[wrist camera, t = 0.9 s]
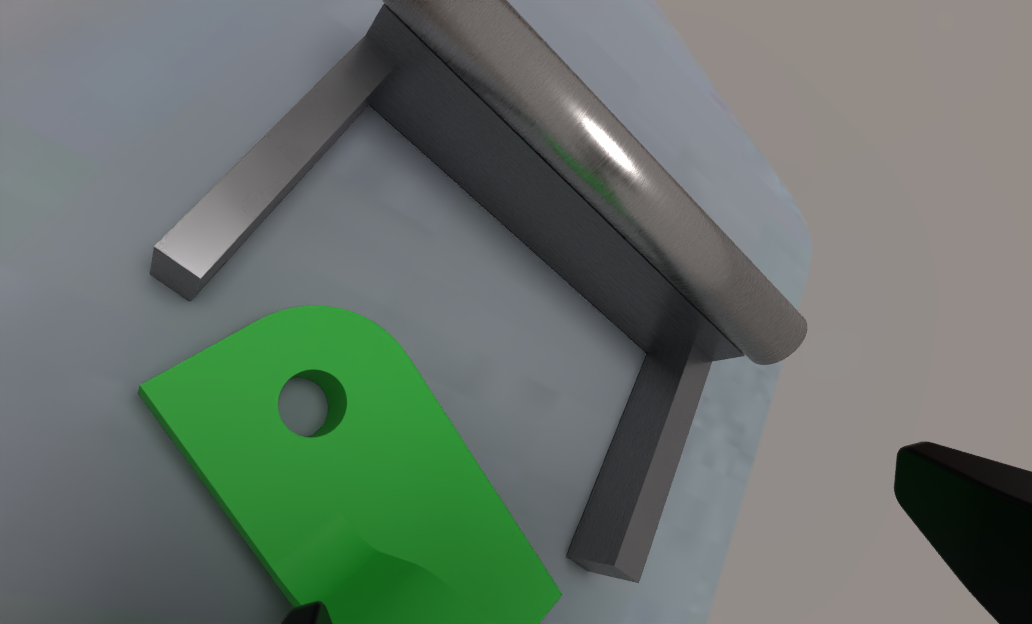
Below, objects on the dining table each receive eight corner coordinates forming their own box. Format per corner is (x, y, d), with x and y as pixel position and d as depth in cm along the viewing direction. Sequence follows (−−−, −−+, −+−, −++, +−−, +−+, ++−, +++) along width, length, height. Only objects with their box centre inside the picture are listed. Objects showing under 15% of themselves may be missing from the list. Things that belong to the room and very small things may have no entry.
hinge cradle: (589, 571, 22) (739, 606, 16) (150, 274, 16) (164, 181, 11) (704, 265, 29) (833, 221, 24) (431, -14, 23) (521, -153, 18)
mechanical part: (526, 584, 20) (718, 640, 14) (390, 742, 17) (559, 915, 10) (331, 285, 19) (444, 191, 12) (137, 393, 15) (152, 342, 9)
